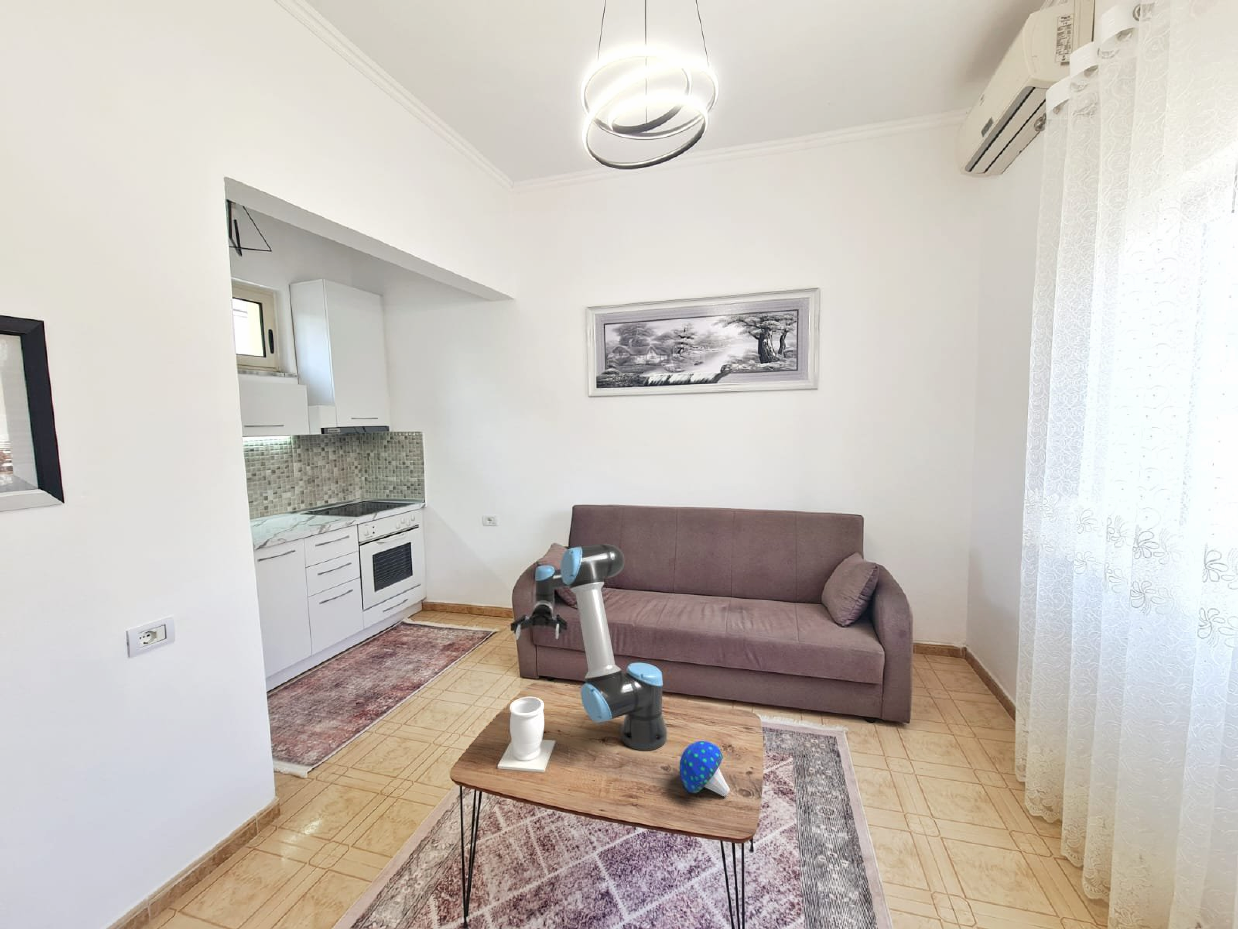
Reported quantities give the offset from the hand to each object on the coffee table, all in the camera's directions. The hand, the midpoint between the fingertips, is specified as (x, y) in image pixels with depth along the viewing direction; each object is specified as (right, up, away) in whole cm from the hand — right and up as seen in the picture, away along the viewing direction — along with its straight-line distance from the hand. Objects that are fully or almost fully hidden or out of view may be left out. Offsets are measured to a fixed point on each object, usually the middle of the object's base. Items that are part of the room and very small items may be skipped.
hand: (536, 635), depth 168 cm
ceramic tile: (0, -31, -17) cm, 35 cm away
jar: (0, -30, -17) cm, 35 cm away
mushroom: (+52, -32, -31) cm, 69 cm away
